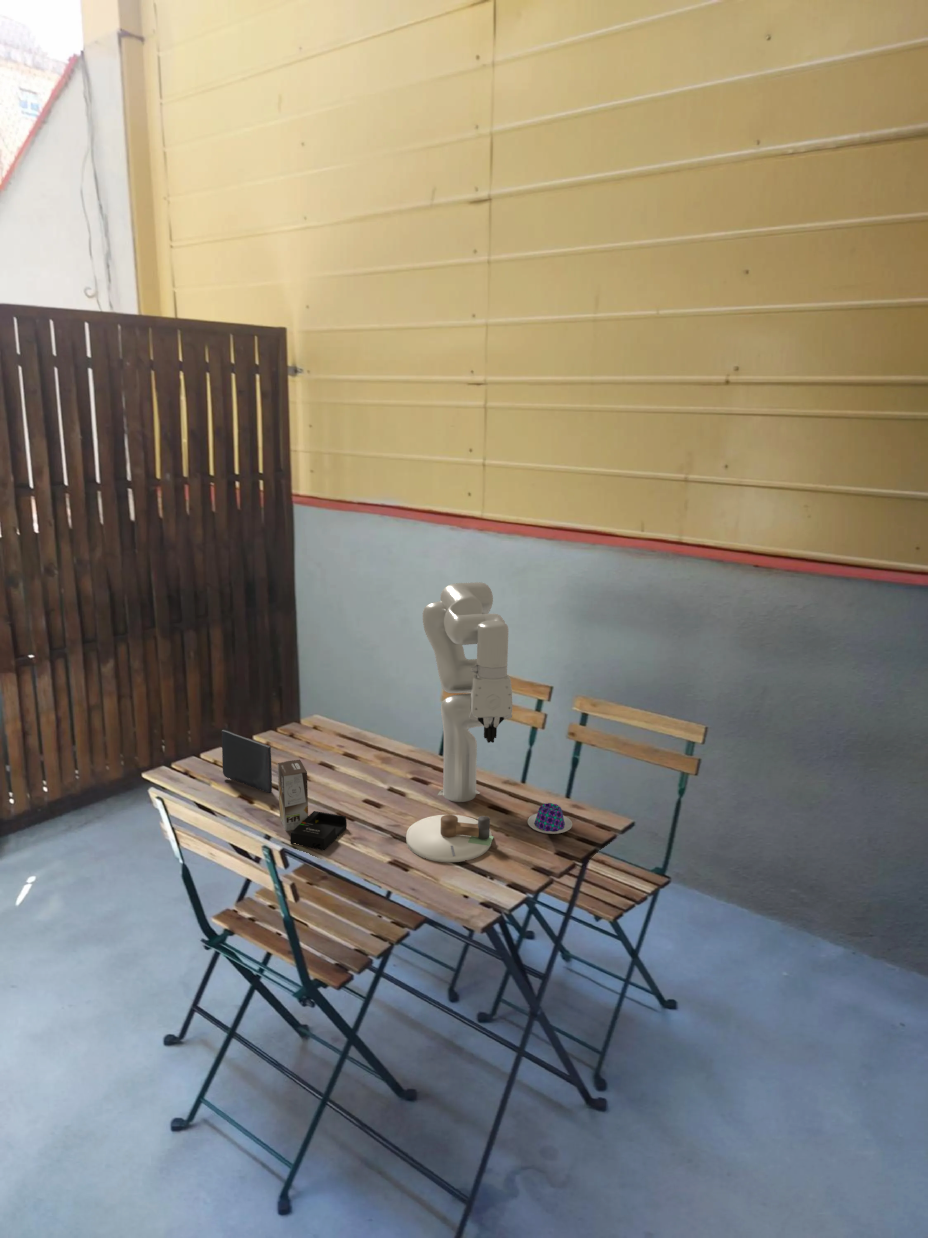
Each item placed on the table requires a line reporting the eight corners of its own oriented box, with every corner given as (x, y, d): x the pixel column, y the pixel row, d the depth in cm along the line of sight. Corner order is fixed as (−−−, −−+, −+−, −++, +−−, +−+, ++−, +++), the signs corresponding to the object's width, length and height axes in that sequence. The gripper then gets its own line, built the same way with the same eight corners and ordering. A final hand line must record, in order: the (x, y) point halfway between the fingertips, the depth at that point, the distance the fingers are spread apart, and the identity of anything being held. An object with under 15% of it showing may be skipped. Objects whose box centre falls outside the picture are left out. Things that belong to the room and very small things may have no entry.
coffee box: (309, 828, 218) (308, 772, 214) (285, 833, 216) (283, 776, 212) (302, 813, 227) (300, 758, 223) (278, 817, 224) (276, 762, 220)
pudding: (581, 825, 224) (582, 807, 222) (554, 841, 215) (554, 822, 214) (545, 810, 232) (546, 793, 230) (518, 825, 223) (519, 807, 222)
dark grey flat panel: (275, 792, 239) (273, 743, 235) (270, 795, 237) (268, 745, 234) (227, 775, 249) (225, 728, 246) (222, 778, 248) (220, 730, 244)
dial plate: (403, 821, 223) (403, 816, 223) (485, 818, 226) (485, 812, 226) (409, 864, 202) (409, 858, 202) (499, 860, 205) (499, 854, 204)
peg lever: (438, 836, 212) (439, 817, 211) (442, 828, 216) (442, 810, 215) (487, 841, 209) (488, 823, 208) (490, 833, 214) (491, 815, 212)
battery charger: (324, 853, 207) (324, 839, 206) (290, 847, 210) (289, 832, 209) (346, 830, 219) (346, 816, 218) (314, 824, 222) (313, 810, 221)
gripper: (463, 676, 200) (462, 747, 204) (524, 675, 202) (522, 745, 206) (459, 667, 207) (458, 736, 211) (518, 665, 209) (516, 734, 213)
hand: (489, 740), depth 209 cm, fingers closed
